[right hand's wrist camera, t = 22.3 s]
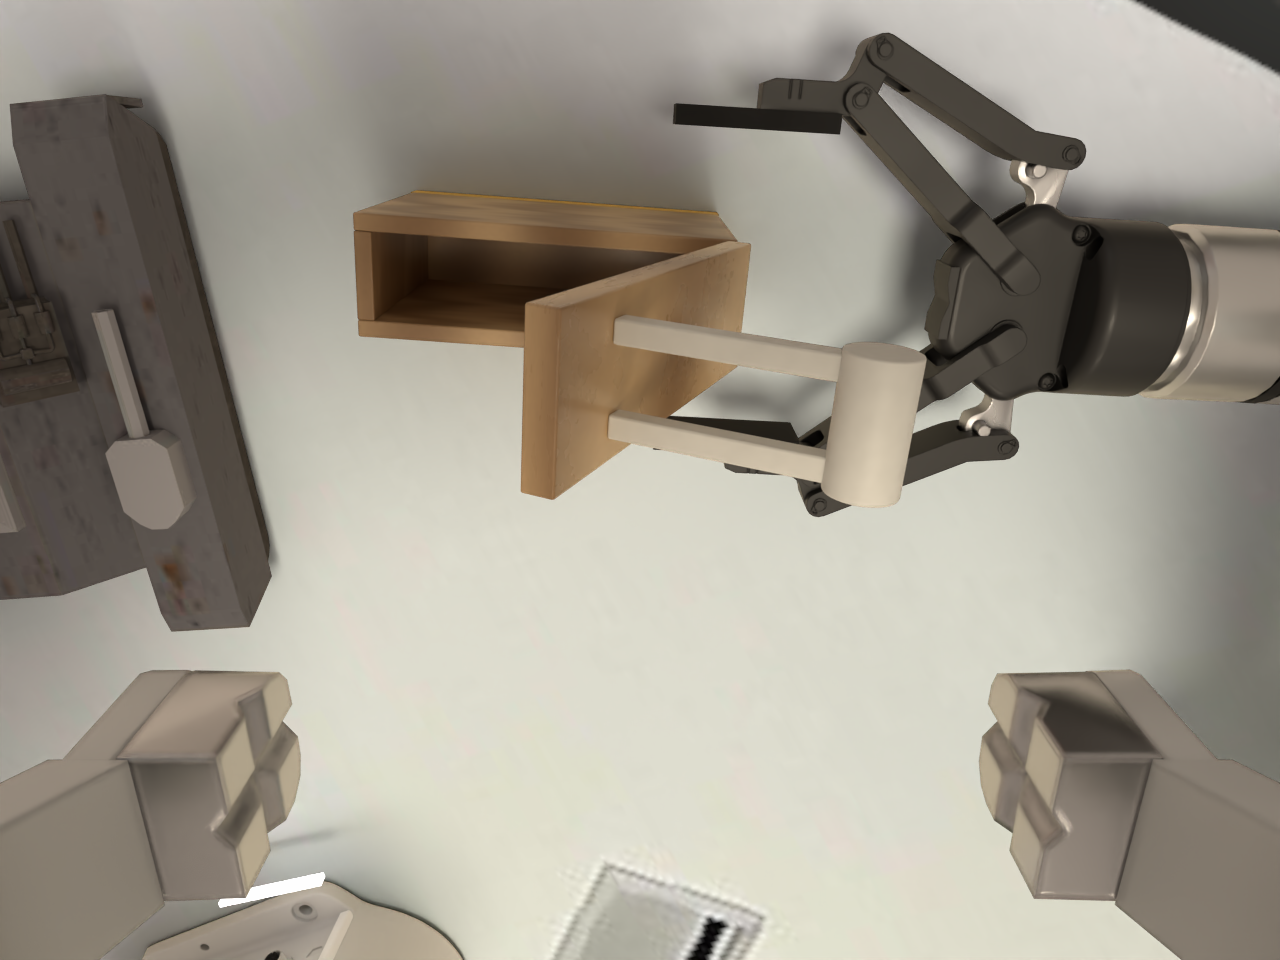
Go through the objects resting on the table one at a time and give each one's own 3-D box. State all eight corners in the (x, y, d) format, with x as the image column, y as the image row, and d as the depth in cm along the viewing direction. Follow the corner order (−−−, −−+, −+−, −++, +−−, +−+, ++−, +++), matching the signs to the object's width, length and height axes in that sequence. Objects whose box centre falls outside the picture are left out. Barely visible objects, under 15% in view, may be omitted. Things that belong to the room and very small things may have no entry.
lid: (519, 493, 22) (873, 577, 20) (523, 302, 21) (913, 363, 18) (714, 363, 36) (942, 402, 33) (727, 240, 34) (969, 269, 31)
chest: (418, 289, 46) (357, 336, 36) (416, 190, 44) (352, 211, 34) (707, 309, 46) (725, 362, 36) (716, 212, 44) (738, 239, 34)
